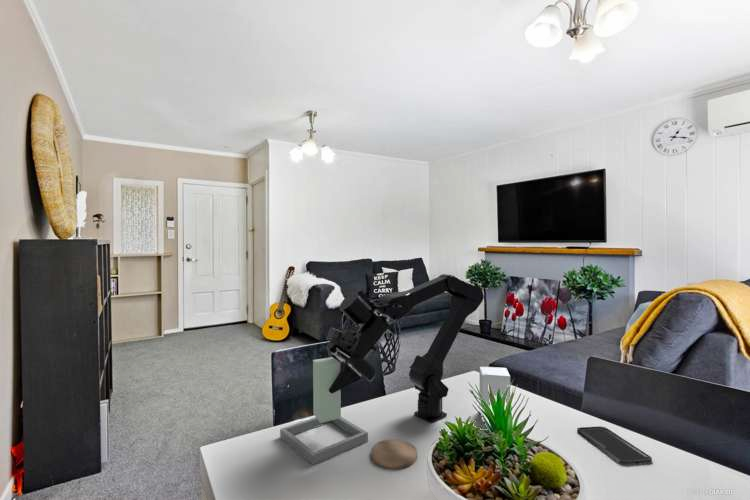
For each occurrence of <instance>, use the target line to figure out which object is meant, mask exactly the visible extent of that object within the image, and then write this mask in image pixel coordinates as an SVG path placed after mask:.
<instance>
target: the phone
mask: <svg viewBox="0 0 750 500" xmlns="http://www.w3.org/2000/svg"><path fill="white" fill-rule="evenodd" d="M576 430H577V431H576V433H577V434H578V435H580V436H582V438H584V439H585V440H587V442H589V443H591V444H592V445H593V446H594V447H596V448H597V449H599V450H600V451H601V452H603V454H605V455H606V456H608V457H609V458H611V459H612V460H613V461H614V462H616V463H617V464H619V465H622V466H630V465H631V466H634V465H633V464H635V465H645V464H646V465H647V464H652V462H653V457H651V456H650V455H649V454H647V453H645V452H644V451H642V449H640V448H638V447H636V446H635V445H633V444H632V443H630V442H629V441H627V440H626V439H624V438H623V437H621V436H620V435H618V434H617V433H615V432H613V431H612V430H610V429H609V428H607V427H605V426H600V425H599V426H586V427H583V426H582V427H577V428H576Z"/></svg>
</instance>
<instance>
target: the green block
mask: <svg viewBox="0 0 750 500" xmlns="http://www.w3.org/2000/svg"><path fill="white" fill-rule="evenodd" d="M312 369H313V370H312V379H313V380H312V384H313V385H312V387H313V388H312V389H313V390H312V391H313V393H312V395H313V404H312V405H313V407H312V408H313V411H312V412H313V416H314V418H315V417H316V418H317V419H318V421H319V422H320V423H322V422H327V421H331V420H335V419H340V418H341V417H342V410H341V409H342V405H341V404H342V402H341V400H342V398H341V395H342V392H341V391H342V389H340V390H338V391H336V392H334V393H330V392H329V389H330V387H331V385H332V384H333V382H334V381H335V379H336V378H337V376H338V375H339V373H340V362H339V361H337V360H336V359H335V358H333V357H330V358H329V357H325V358H317V359H313V360H312Z"/></svg>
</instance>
